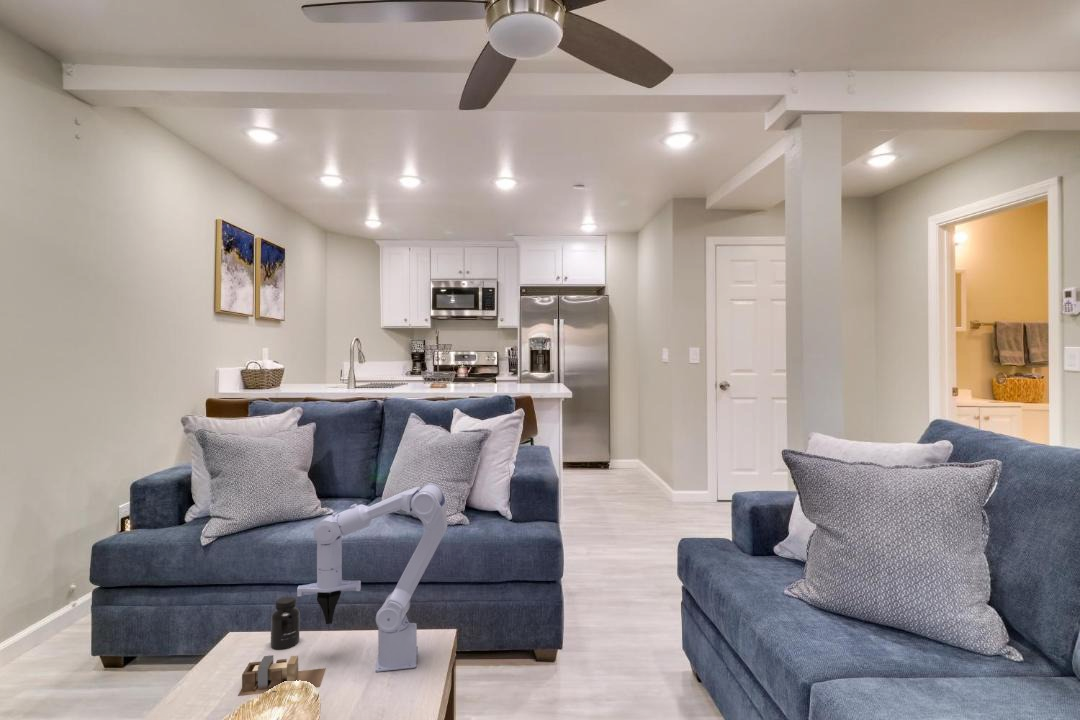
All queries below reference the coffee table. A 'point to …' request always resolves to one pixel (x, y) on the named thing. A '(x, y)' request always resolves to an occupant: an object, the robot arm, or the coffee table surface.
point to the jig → (276, 678)
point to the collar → (264, 672)
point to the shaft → (284, 669)
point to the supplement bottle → (285, 624)
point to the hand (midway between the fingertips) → (329, 622)
